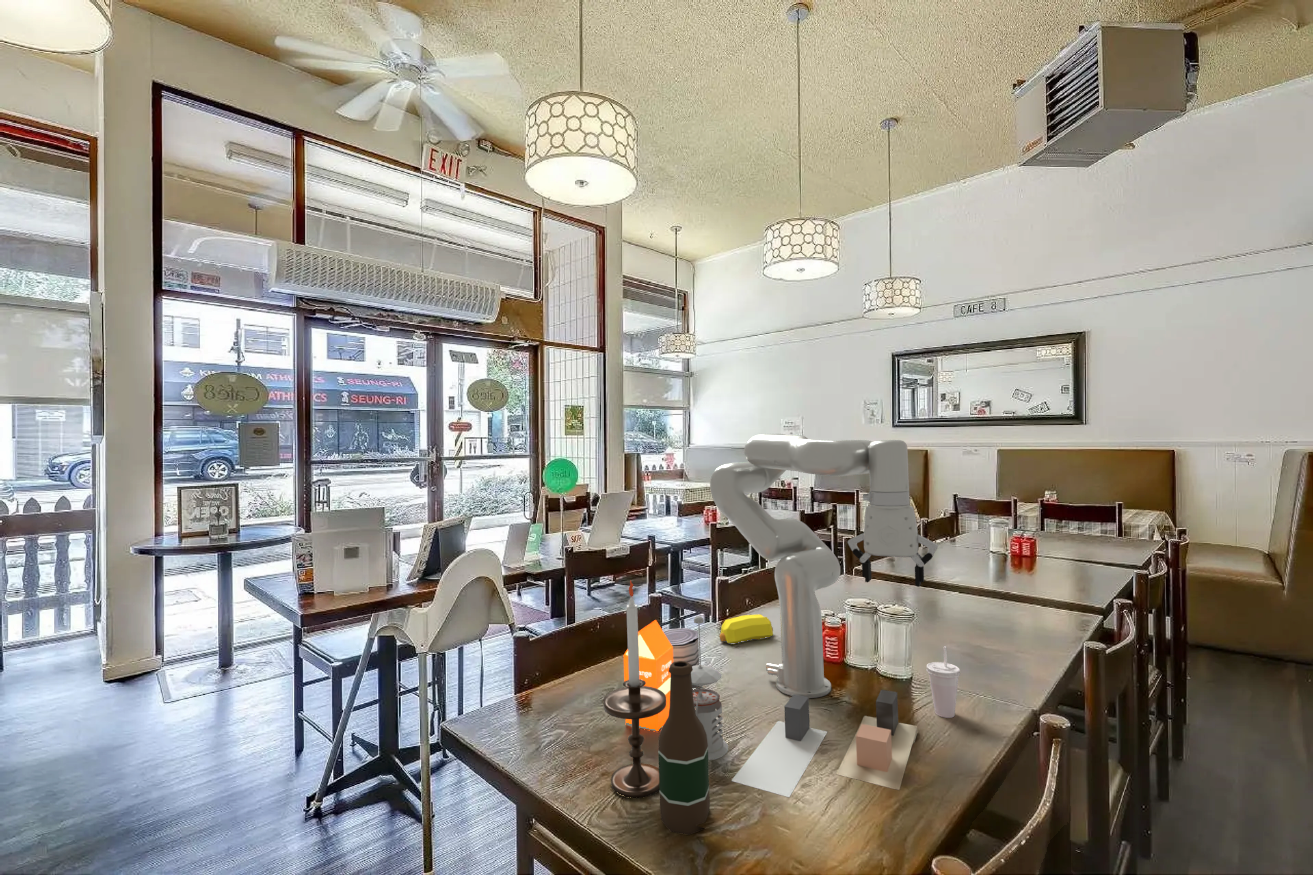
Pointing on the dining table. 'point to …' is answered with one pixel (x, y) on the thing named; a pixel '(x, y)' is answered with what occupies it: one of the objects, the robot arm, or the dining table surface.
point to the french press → (708, 704)
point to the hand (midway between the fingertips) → (892, 583)
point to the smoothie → (943, 686)
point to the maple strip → (900, 742)
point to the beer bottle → (683, 758)
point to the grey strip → (783, 751)
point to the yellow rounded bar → (746, 628)
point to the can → (684, 645)
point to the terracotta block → (874, 747)
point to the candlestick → (635, 717)
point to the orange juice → (653, 669)
